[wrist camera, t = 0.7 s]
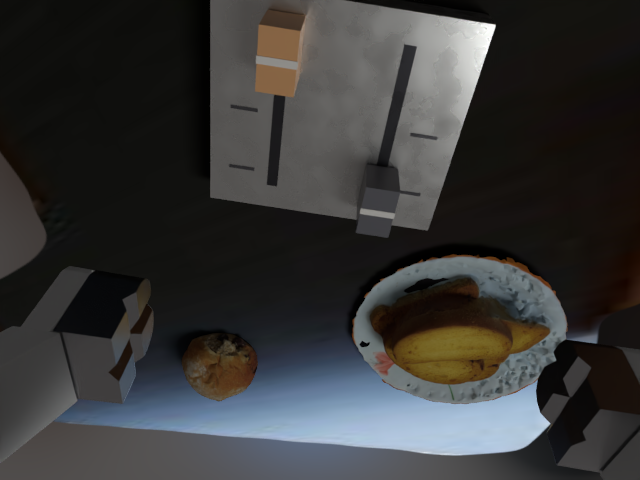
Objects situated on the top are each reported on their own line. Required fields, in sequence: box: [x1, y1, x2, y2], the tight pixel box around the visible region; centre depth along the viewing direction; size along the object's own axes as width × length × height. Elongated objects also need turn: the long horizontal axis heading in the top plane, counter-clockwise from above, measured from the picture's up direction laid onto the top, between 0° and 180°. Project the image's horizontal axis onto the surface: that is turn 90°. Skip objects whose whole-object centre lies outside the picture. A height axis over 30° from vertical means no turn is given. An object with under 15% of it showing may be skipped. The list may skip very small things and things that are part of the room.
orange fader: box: [255, 10, 306, 97], centre depth 40 cm, size 5×3×4 cm, turn 173°
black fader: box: [356, 164, 400, 238], centre depth 47 cm, size 5×3×4 cm, turn 173°
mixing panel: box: [210, 0, 496, 230], centre depth 46 cm, size 20×22×3 cm
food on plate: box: [352, 254, 568, 404], centre depth 62 cm, size 25×25×7 cm
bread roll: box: [182, 333, 258, 401], centre depth 69 cm, size 10×10×8 cm
